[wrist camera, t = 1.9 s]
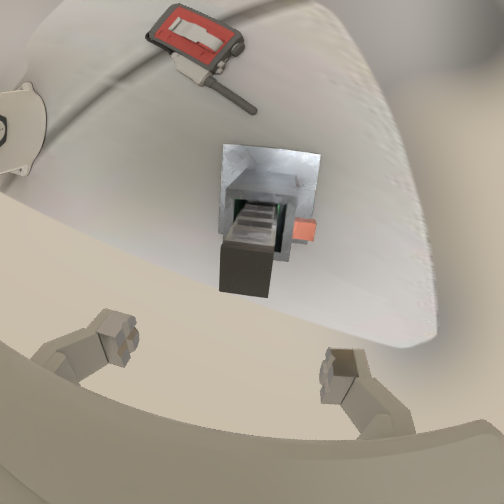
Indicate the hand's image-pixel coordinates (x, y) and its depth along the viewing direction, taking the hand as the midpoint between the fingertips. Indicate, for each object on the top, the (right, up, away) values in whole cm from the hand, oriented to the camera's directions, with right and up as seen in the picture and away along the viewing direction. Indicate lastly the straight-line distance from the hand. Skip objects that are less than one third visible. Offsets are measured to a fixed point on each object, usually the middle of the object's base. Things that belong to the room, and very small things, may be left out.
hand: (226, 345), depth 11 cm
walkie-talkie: (-4, +29, +18) cm, 35 cm away
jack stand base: (+3, +11, +25) cm, 27 cm away
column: (+3, +11, +23) cm, 26 cm away
